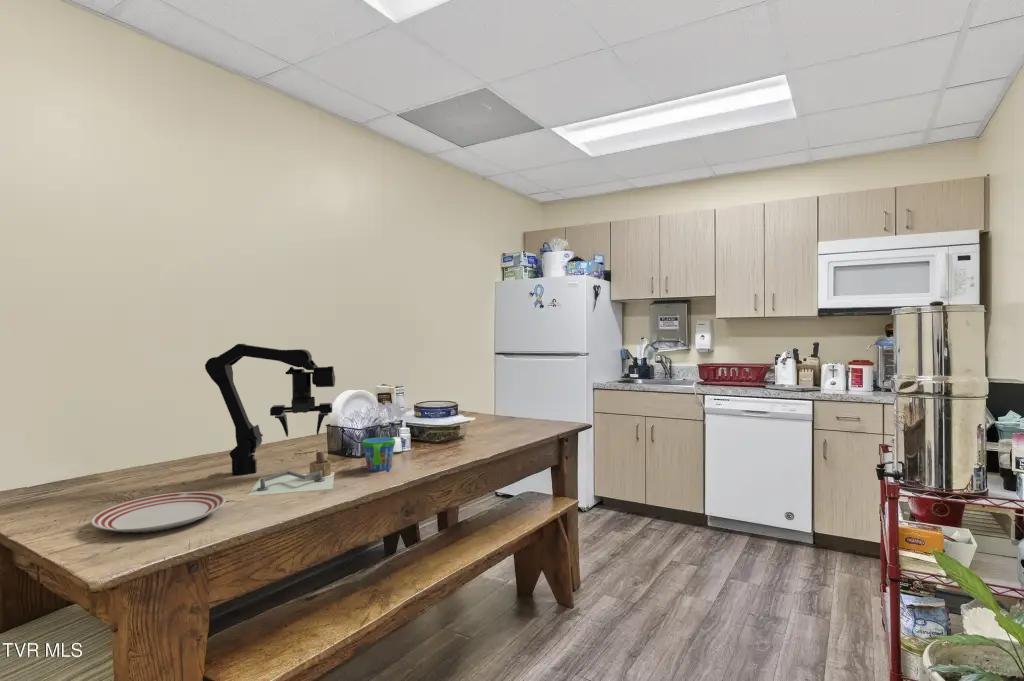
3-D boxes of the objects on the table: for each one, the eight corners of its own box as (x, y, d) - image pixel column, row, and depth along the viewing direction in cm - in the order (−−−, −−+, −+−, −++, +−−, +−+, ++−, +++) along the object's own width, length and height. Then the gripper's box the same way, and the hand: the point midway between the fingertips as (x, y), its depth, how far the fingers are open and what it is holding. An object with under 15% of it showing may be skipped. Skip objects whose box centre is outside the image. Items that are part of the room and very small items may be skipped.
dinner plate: (168, 543, 119) (168, 528, 119) (59, 538, 123) (59, 523, 123) (249, 505, 146) (249, 492, 146) (157, 502, 150) (157, 489, 150)
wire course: (247, 498, 151) (247, 484, 151) (259, 480, 172) (259, 468, 172) (332, 491, 158) (332, 478, 158) (334, 474, 178) (334, 462, 178)
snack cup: (368, 465, 190) (368, 435, 190) (399, 464, 190) (399, 435, 190) (357, 476, 174) (356, 444, 174) (391, 476, 175) (390, 443, 174)
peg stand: (306, 480, 167) (305, 455, 167) (307, 474, 175) (307, 450, 175) (333, 478, 170) (333, 454, 170) (334, 472, 177) (334, 449, 177)
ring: (306, 475, 171) (305, 462, 171) (322, 471, 176) (322, 459, 176) (318, 478, 168) (318, 465, 168) (334, 474, 173) (334, 461, 173)
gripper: (267, 391, 171) (268, 441, 171) (331, 388, 176) (331, 437, 176) (272, 388, 181) (272, 435, 181) (332, 386, 187) (332, 432, 187)
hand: (302, 435), depth 181 cm, fingers open, 9 cm apart
